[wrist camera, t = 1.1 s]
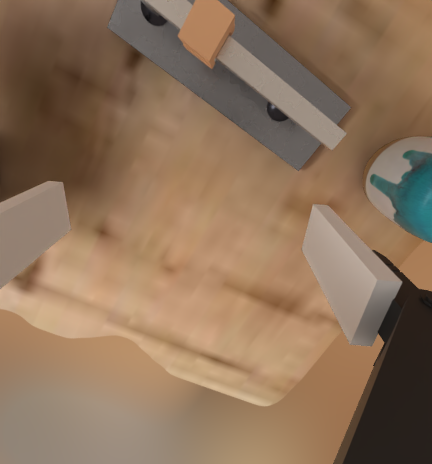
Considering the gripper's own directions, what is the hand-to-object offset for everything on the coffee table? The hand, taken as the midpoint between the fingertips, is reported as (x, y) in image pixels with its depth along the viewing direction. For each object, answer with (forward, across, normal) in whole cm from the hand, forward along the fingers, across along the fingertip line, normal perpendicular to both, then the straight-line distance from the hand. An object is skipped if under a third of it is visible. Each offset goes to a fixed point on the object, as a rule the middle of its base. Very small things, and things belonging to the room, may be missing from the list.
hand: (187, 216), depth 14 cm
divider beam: (+26, +2, +9) cm, 27 cm away
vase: (+27, +26, -1) cm, 37 cm away
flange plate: (+27, +2, +9) cm, 28 cm away
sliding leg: (+25, 0, +11) cm, 27 cm away
